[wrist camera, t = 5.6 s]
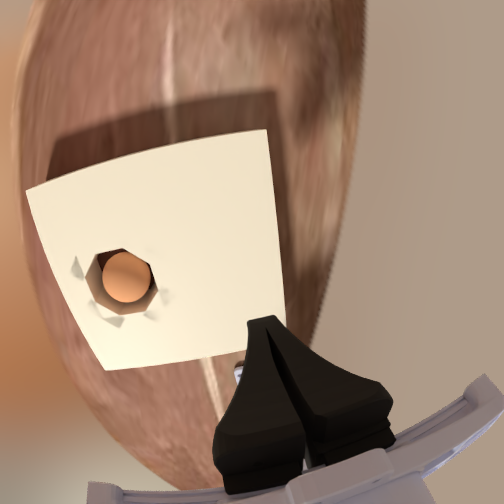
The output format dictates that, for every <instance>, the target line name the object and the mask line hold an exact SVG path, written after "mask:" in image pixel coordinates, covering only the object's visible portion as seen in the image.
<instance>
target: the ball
mask: <svg viewBox="0 0 504 504" xmlns="http://www.w3.org/2000/svg"><path fill="white" fill-rule="evenodd" d="M102 280H103V285H104V287H105V289H106V291H107V292H108V294H109V295H110V296H111V297H113V298H114V299H116V300H118V301H120V302H133V301H136V300H138V299H140V298H141V297H142V296H143V295H144V294H145V293H146V292H147V290H148V288H149V285H150V271H149V268H148V265H147V264H146V262H145V261H144V260H142V259H140V258H139V257H137V256H135V255H134V254H132V253H130V252H121V253H118V254H116V255H114V256H112V257H111V258H110V259H109V260H108V261H107V263H106V264H105V266H104V269H103V274H102Z"/></svg>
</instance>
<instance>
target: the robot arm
mask: <svg viewBox="0 0 504 504" xmlns="http://www.w3.org/2000/svg"><path fill="white" fill-rule="evenodd" d="M247 328H248V341H247V350H246V356H245V361H244V366H241V367H237V368H235V369H234V374H235V377H236V381H237V384H238V386H237V388H236V391H235V394H234V396H233V398H232V400H231V402H230V404H229V406H228V408H227V410H226V412H225V414H224V416H223V417H222V419H221V421H220V422H219V424H218V425H217V427H216V430H215V434H214V439H213V447H212V453H213V461H214V465H215V466H216V468H217V469H218V470H219V472H220V473H221V474H222V476H223V482H224V487H219V488H210V489H199V490H184V491H134V490H122V489H121V488H120V487H119V486H117V485H114V484H111V483H103V482H94V481H89V482H88V491H87V504H436V503H435V501H434V499H433V497H432V495H431V493H430V491H429V490H428V488H427V486H426V484H425V482H424V481H423V478H425V477H426V476H428V475H430V474H431V473H432V472H434V471H435V470H437V469H438V468H440V467H441V466H443V465H444V464H446V463H447V462H448V461H450V460H451V459H452V458H454V457H455V456H456V455H458V454H459V453H460V452H461V451H463V450H464V449H465V448H466V447H468V446H469V445H470V444H472V443H473V442H474V441H475V440H476V439H478V437H480V436H481V435H482V434H484V433H485V432H486V431H487V430H488V429H489V428H490V427H491V426H492V425H493V423H494V422H495V421H496V420H497V419H498V418H499V416H500V415H501V414H502V413H503V412H504V395H503V394H502V393H501V392H500V391H499V389H498V388H497V387H496V386H495V385H494V384H493V382H492V381H491V380H490V379H489V378H488V377H487V376H486V374H482V375H481V376H480V377H479V378H477V379H476V380H475V381H473V382H472V383H471V384H470V385H469V386H468V387H467V388H466V390H465V391H464V393H463V395H462V396H460V397H459V398H458V399H456V400H455V401H453V402H452V403H450V404H449V405H447V406H445V407H444V408H442V409H441V410H439V411H438V412H436V413H434V414H433V415H431V416H429V417H428V418H426V419H424V420H422V421H421V422H419V423H417V424H415V425H414V426H412V427H410V428H408V429H406V430H404V431H402V432H400V433H398V434H396V435H394V434H393V433H392V431H391V429H390V425H391V424H390V422H389V420H388V418H387V417H388V415H389V412H390V410H391V408H392V405H393V399H392V397H391V396H390V394H389V393H388V391H387V390H386V389H385V388H384V387H383V386H382V385H381V384H380V383H379V382H377V381H373V380H370V379H366V378H363V377H360V376H357V375H355V374H352V373H350V372H348V371H346V370H344V369H342V368H339V367H338V366H335V365H334V364H332V363H330V362H328V361H327V360H325V359H324V358H322V357H320V356H319V355H318V354H316V353H315V352H313V351H312V350H311V349H309V348H308V347H307V346H306V345H304V344H303V343H302V342H301V341H300V340H299V339H297V338H296V337H295V336H294V335H293V334H292V333H291V332H290V331H289V330H288V329H287V328H286V327H285V326H284V325H283V324H282V323H281V321H280V320H279V319H278V318H277V316H275V315H270V316H265V317H261V318H256V319H252V320H248V321H247ZM239 374H240V375H239Z"/></svg>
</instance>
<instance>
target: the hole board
mask: <svg viewBox="0 0 504 504" xmlns="http://www.w3.org/2000/svg"><path fill="white" fill-rule="evenodd" d="M26 194H27V198H28V202H29V205H30V209H31V212H32V215H33V219H34V222H35V225H36V228H37V231H38V234H39V237H40V240H41V242H42V245H43V248H44V251H45V253H46V256H47V258H48V261H49V263H50V266H51V268H52V271H53V273H54V275H55V278H56V280H57V282H58V285H59V287H60V289H61V291H62V293H63V296H64V298H65V300H66V302H67V304H68V306H69V308H70V310H71V312H72V314H73V316H74V318H75V320H76V322H77V323H78V325H79V327H80V329H81V331H82V333H83V334H84V336H85V338H86V340H87V341H88V343H89V345H90V347H91V348H92V350H93V352H94V353H95V355H96V357H97V358H98V360H99V361H100V363H101V365H102V366H103V368H104V369H105V370H116V369H126V368H136V367H144V366H152V365H160V364H167V363H174V362H181V361H187V360H193V359H199V358H205V357H211V356H216V355H221V354H227V353H232V352H237V351H241V350H246V349H247V341H248V328H247V321H248V320H252V319H256V318H261V317H265V316H270V315H275V316H277V318H278V319H279V320H280V321H281V323H282V324H283V325H284V326H285V327H286V316H285V303H284V291H283V280H282V269H281V258H280V247H279V237H278V227H277V217H276V207H275V198H274V189H273V180H272V171H271V163H270V154H269V146H268V138H267V130H266V129H255V130H247V131H240V132H233V133H226V134H220V135H214V136H208V137H203V138H197V139H192V140H187V141H182V142H177V143H173V144H168V145H164V146H159V147H155V148H151V149H147V150H143V151H139V152H135V153H131V154H128V155H124V156H120V157H117V158H113V159H110V160H107V161H103V162H100V163H97V164H94V165H90V166H87V167H84V168H81V169H78V170H75V171H73V172H70V173H67V174H64V175H61V176H59V177H56V178H53V179H51V180H48V181H46V182H43V183H41V184H39V185H37V186H35V187H33V188H31V189H28V190H26ZM120 248H123V249H125V250H127V251H128V252H130V253H132V254H134V255H135V256H137V257H139V258H140V259H142V260H144V261H145V262H147V263H149V264H150V266H151V269H152V273H153V276H154V279H155V282H154V284H153V286H152V287H151V289H149V290H147V292H146V293H145V294H144V295H143V296H142V297H141V298H140V299H138V300H136V301H133V302H120V301H118V300H116V299H114V298H113V297H111V296H110V295H109V294H108V292H107V291H106V289H105V287H104V285H103V280H102V271H101V268H100V266H99V263H98V260H97V257H98V255H99V253H102V252H107V251H111V250H116V249H120Z"/></svg>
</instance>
